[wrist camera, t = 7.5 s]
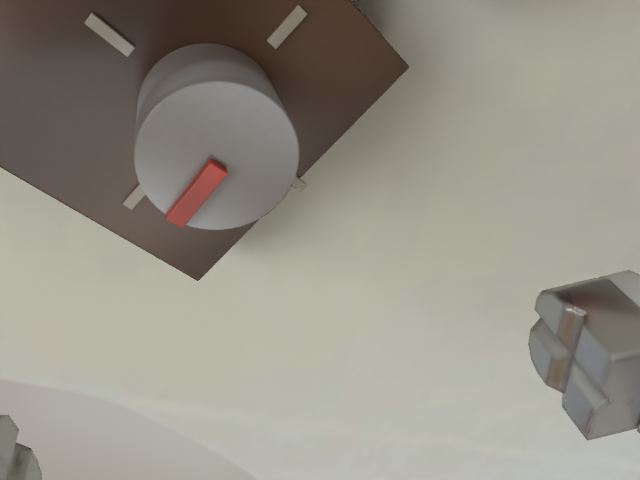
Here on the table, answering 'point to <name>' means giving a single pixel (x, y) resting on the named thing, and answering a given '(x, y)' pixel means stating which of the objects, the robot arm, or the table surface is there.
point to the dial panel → (126, 80)
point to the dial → (213, 139)
